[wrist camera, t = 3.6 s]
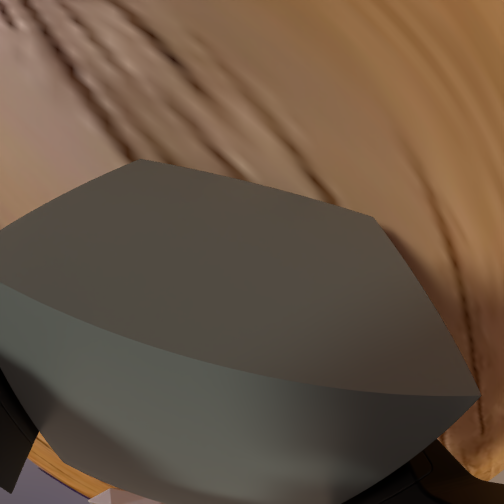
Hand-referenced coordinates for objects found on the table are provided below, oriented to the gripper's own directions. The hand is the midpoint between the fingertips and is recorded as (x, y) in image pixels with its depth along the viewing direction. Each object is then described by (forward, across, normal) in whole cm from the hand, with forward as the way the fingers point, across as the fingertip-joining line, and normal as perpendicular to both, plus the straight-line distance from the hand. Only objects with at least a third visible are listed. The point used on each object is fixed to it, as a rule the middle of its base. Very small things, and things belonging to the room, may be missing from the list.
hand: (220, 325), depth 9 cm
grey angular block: (+2, 0, 0) cm, 2 cm away
